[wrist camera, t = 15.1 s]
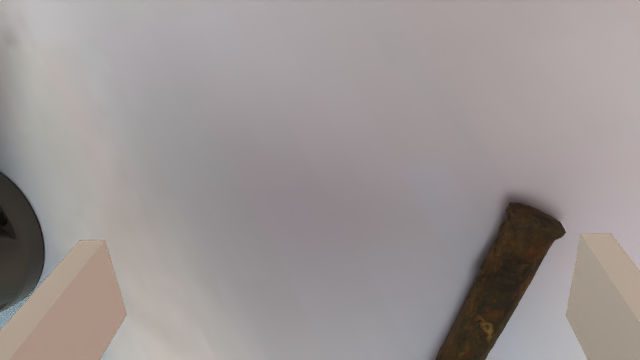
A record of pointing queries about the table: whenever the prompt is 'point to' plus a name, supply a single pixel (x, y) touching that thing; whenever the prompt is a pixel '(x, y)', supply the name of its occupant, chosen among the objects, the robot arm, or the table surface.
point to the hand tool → (501, 282)
